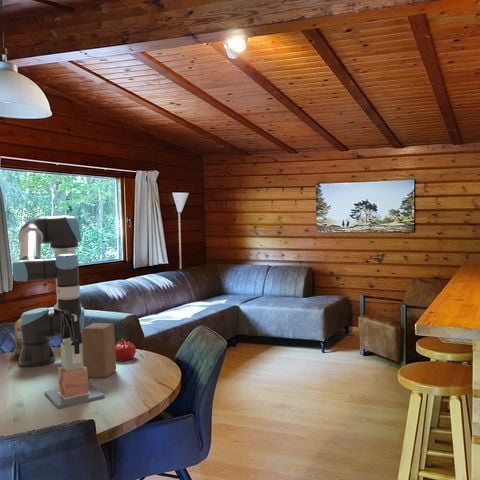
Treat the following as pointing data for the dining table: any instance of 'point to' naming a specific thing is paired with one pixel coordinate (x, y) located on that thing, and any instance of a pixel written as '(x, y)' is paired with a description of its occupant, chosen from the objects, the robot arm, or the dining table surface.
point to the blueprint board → (64, 402)
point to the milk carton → (18, 336)
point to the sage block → (70, 357)
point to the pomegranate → (124, 351)
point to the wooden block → (99, 349)
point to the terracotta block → (73, 382)
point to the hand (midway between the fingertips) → (72, 359)
